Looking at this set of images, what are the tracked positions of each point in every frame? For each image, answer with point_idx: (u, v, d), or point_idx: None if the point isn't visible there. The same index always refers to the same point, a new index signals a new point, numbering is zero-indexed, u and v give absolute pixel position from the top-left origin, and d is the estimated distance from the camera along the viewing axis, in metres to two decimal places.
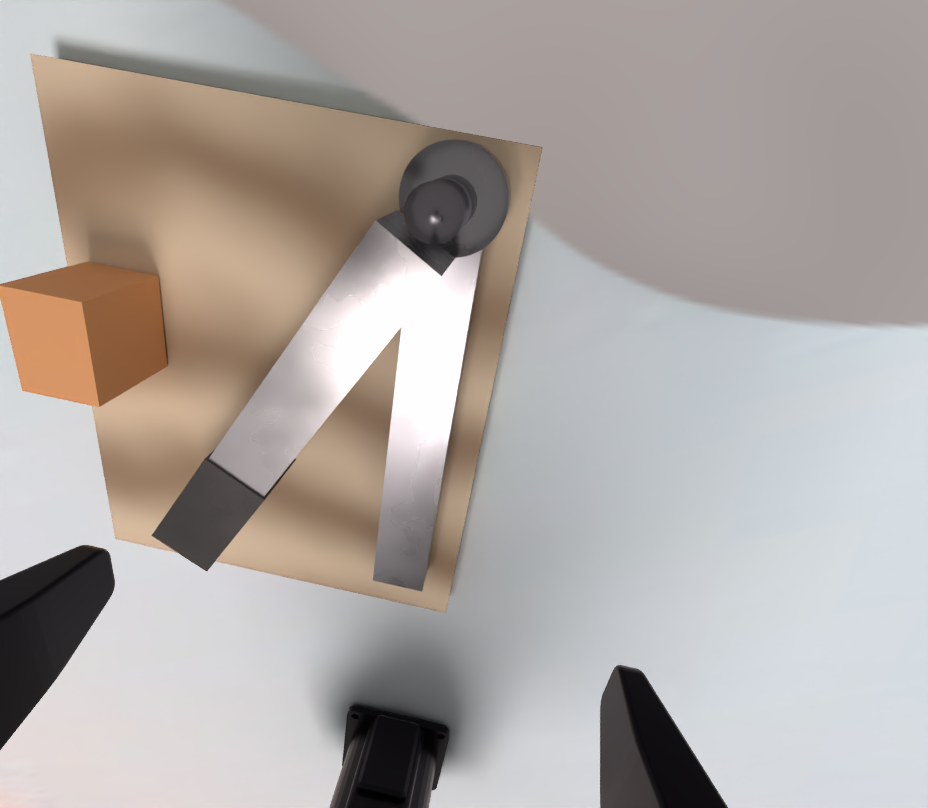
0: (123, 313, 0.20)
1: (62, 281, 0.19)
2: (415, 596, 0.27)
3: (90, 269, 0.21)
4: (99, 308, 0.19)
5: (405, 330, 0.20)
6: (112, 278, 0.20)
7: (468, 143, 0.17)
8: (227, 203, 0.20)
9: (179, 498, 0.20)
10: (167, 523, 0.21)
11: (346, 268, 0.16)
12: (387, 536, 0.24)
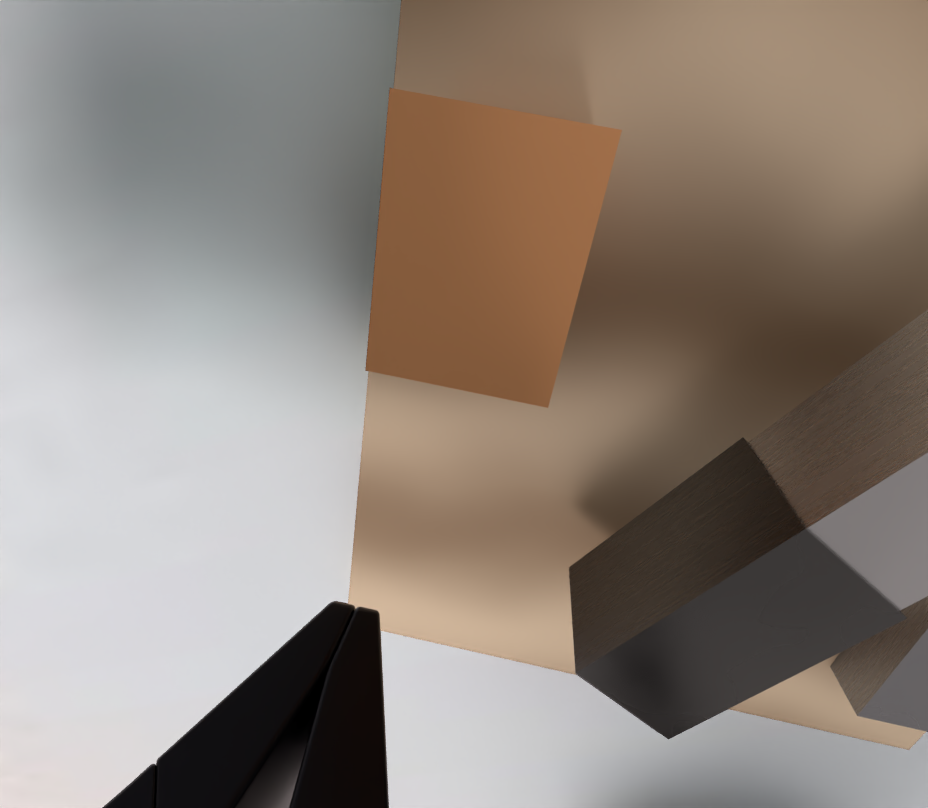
0: None
1: None
2: (864, 724, 0.16)
3: None
4: None
5: None
6: None
7: None
8: None
9: (686, 607, 0.09)
10: (628, 653, 0.10)
11: None
12: None
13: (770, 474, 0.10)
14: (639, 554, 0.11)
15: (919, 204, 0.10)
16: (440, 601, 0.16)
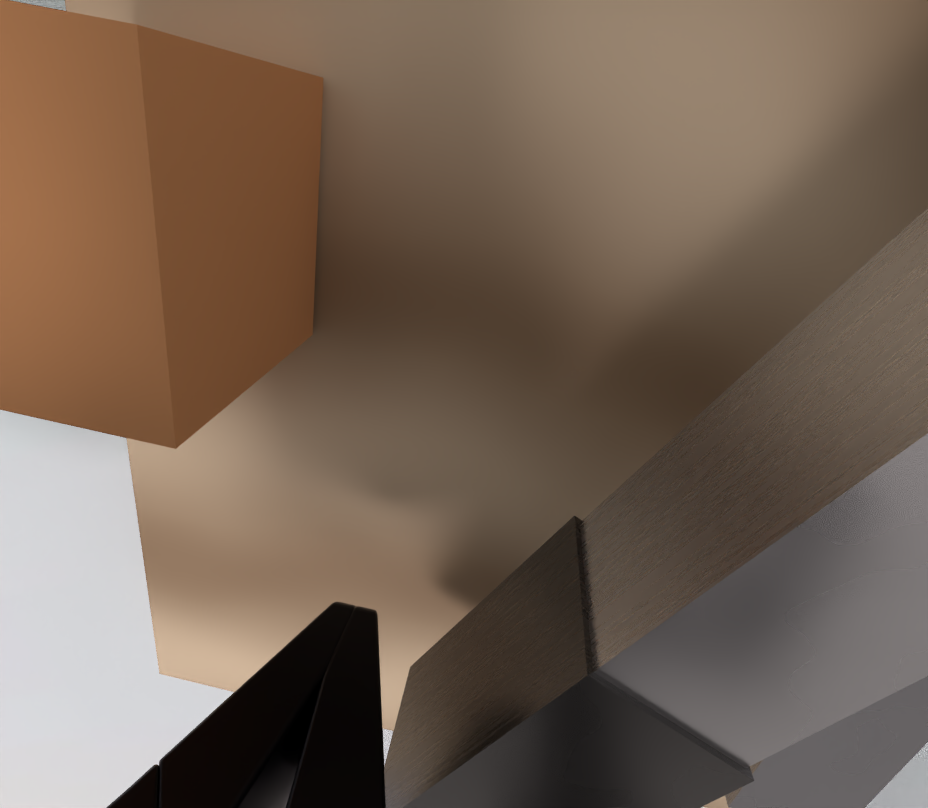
0: (252, 152, 0.06)
1: None
2: None
3: None
4: (193, 93, 0.05)
5: None
6: None
7: None
8: None
9: (470, 764, 0.07)
10: None
11: None
12: None
13: (585, 575, 0.07)
14: (458, 667, 0.09)
15: (750, 174, 0.08)
16: (258, 652, 0.14)
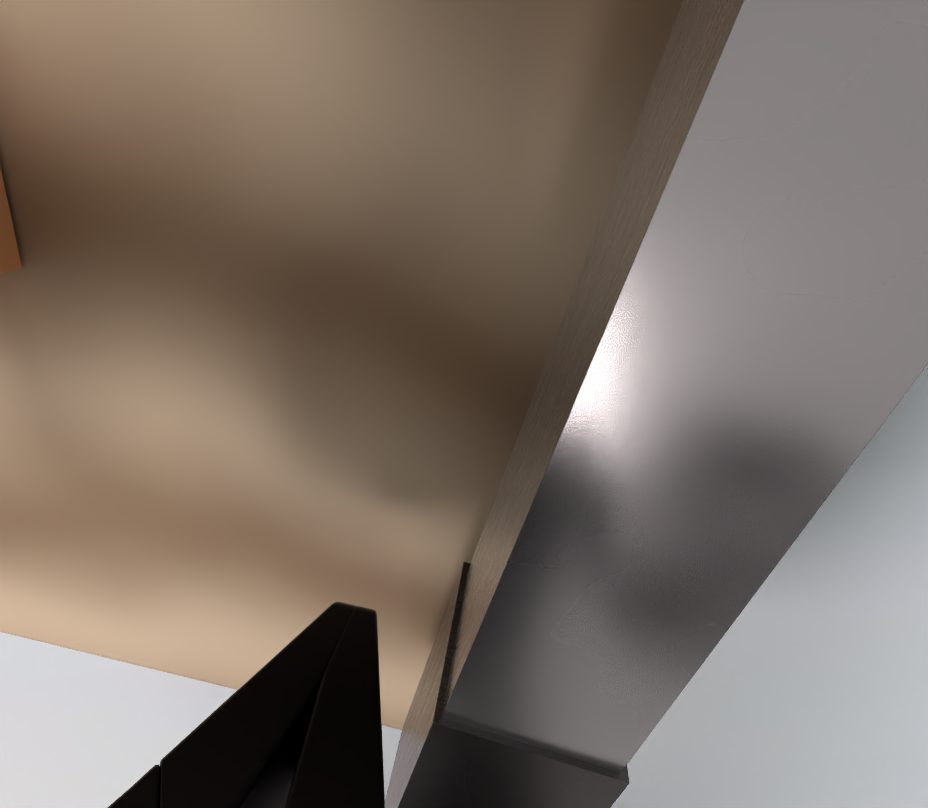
0: None
1: None
2: None
3: None
4: None
5: None
6: None
7: None
8: None
9: None
10: None
11: None
12: None
13: (458, 621, 0.08)
14: (412, 722, 0.10)
15: (378, 95, 0.08)
16: (58, 601, 0.14)
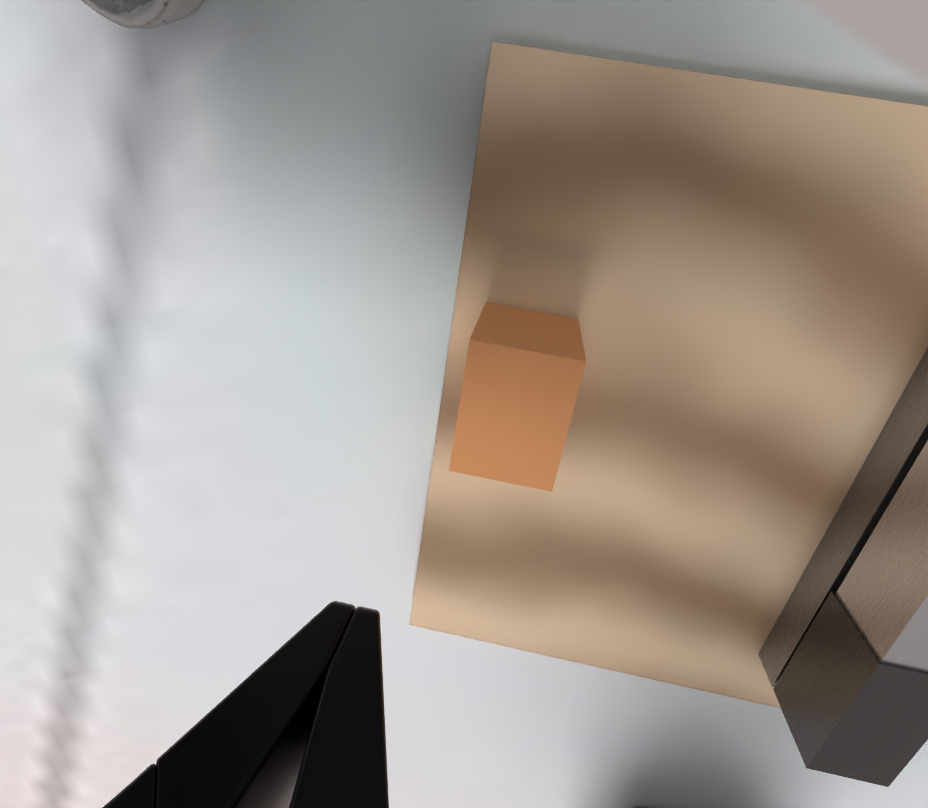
0: None
1: (515, 331, 0.15)
2: None
3: (508, 312, 0.16)
4: None
5: None
6: (548, 324, 0.16)
7: None
8: (705, 228, 0.16)
9: (844, 717, 0.16)
10: (828, 748, 0.17)
11: None
12: None
13: (853, 621, 0.17)
14: (808, 679, 0.18)
15: (776, 360, 0.17)
16: (478, 607, 0.23)
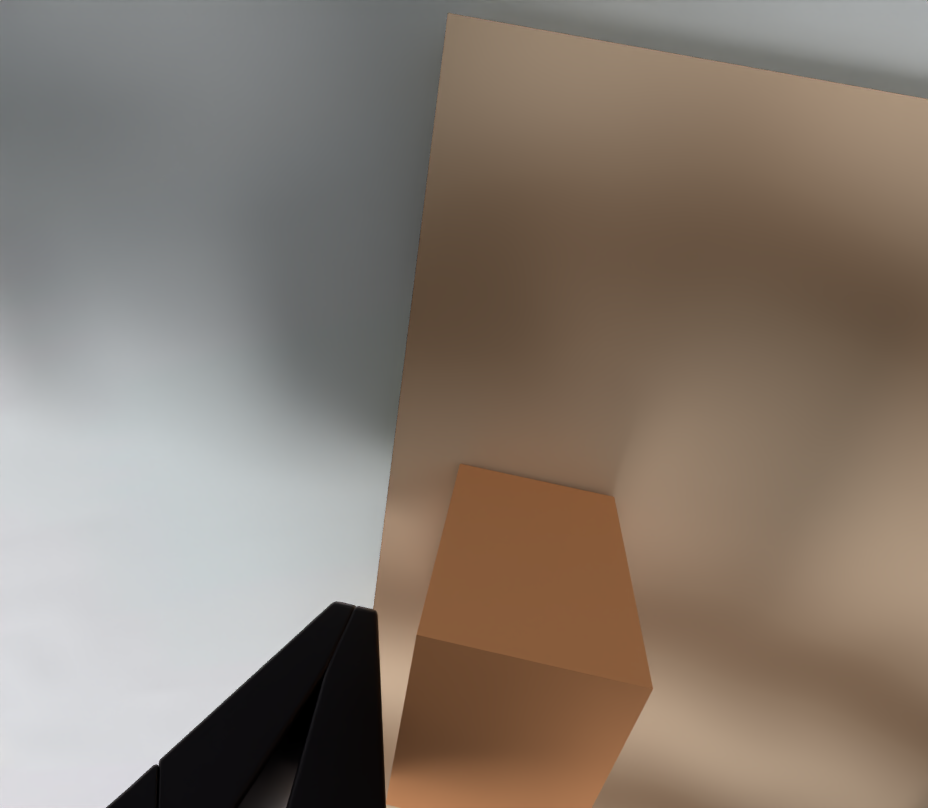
0: None
1: (509, 572, 0.08)
2: None
3: (496, 497, 0.10)
4: None
5: None
6: (568, 530, 0.09)
7: None
8: (832, 366, 0.09)
9: None
10: None
11: None
12: None
13: None
14: None
15: (924, 569, 0.10)
16: None
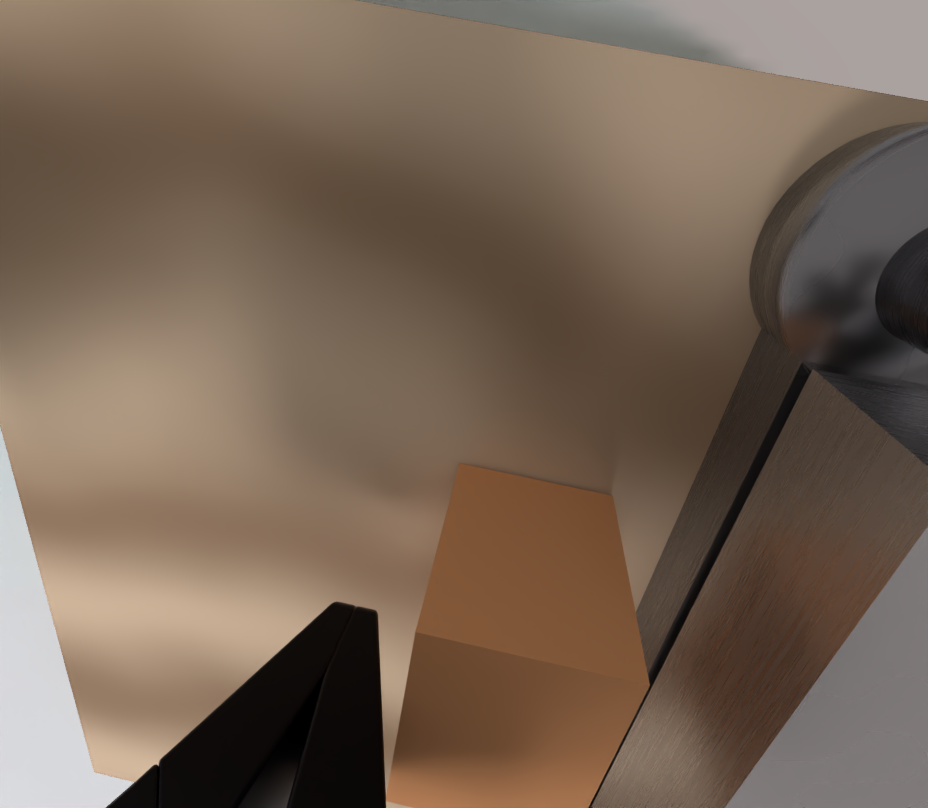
0: None
1: (507, 570, 0.08)
2: None
3: (495, 496, 0.10)
4: None
5: (718, 550, 0.09)
6: (566, 529, 0.09)
7: None
8: (317, 263, 0.09)
9: None
10: None
11: (866, 625, 0.05)
12: None
13: None
14: None
15: None
16: None
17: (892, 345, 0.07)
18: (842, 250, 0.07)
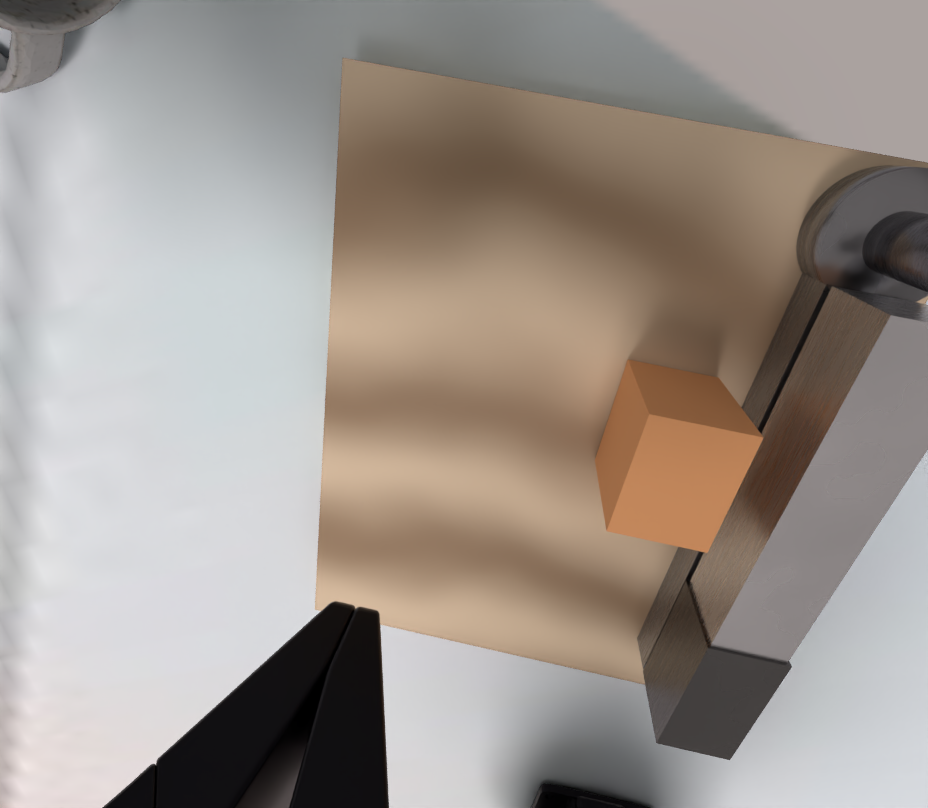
0: None
1: (679, 399, 0.15)
2: None
3: (656, 373, 0.17)
4: None
5: (778, 395, 0.16)
6: (700, 388, 0.16)
7: None
8: (555, 239, 0.16)
9: (683, 696, 0.18)
10: (673, 725, 0.18)
11: (857, 384, 0.13)
12: None
13: (697, 608, 0.18)
14: (664, 662, 0.20)
15: None
16: (378, 594, 0.24)
17: (871, 275, 0.14)
18: (846, 227, 0.14)
